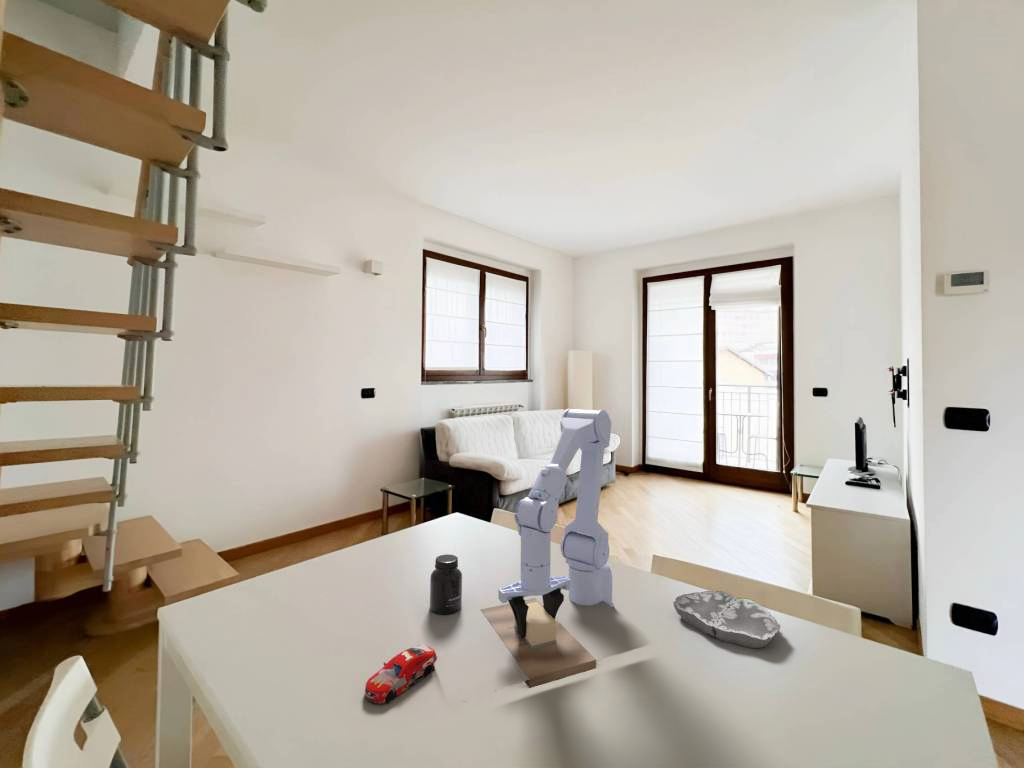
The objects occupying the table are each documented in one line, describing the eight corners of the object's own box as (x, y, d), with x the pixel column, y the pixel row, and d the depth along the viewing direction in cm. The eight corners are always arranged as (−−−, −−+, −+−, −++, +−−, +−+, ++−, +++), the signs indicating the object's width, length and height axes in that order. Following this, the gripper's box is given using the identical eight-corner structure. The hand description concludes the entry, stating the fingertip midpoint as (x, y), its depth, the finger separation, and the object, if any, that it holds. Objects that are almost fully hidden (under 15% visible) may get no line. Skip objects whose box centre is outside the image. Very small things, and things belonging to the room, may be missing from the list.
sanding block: (537, 621, 89) (537, 601, 89) (556, 642, 82) (556, 621, 82) (514, 626, 87) (514, 606, 87) (532, 649, 80) (532, 627, 80)
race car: (377, 713, 67) (377, 687, 67) (357, 697, 70) (357, 672, 70) (442, 669, 77) (442, 646, 77) (422, 656, 81) (422, 635, 81)
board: (480, 616, 94) (480, 609, 94) (535, 604, 99) (535, 598, 99) (529, 688, 72) (529, 678, 72) (596, 668, 77) (596, 659, 77)
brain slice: (789, 626, 92) (789, 611, 92) (768, 663, 79) (768, 647, 79) (694, 594, 105) (694, 582, 105) (663, 622, 93) (663, 608, 93)
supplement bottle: (455, 624, 91) (456, 566, 91) (424, 620, 92) (425, 563, 92) (465, 607, 98) (466, 553, 98) (436, 604, 99) (437, 551, 99)
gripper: (558, 548, 91) (557, 614, 91) (492, 559, 85) (492, 629, 85) (576, 561, 85) (575, 631, 85) (506, 573, 79) (506, 649, 79)
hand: (535, 631), depth 85 cm, fingers closed on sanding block, 5 cm apart
